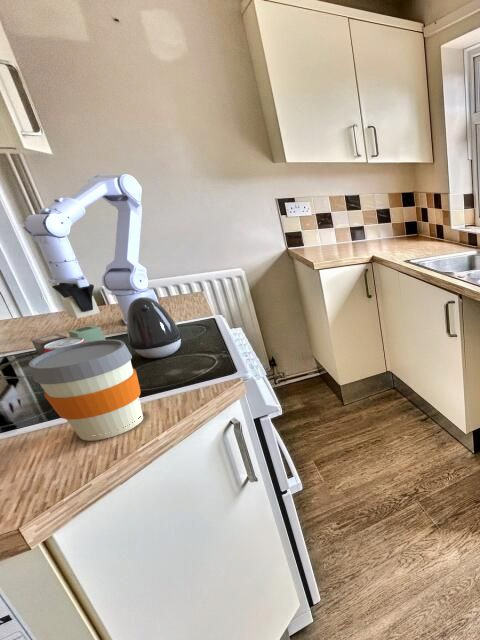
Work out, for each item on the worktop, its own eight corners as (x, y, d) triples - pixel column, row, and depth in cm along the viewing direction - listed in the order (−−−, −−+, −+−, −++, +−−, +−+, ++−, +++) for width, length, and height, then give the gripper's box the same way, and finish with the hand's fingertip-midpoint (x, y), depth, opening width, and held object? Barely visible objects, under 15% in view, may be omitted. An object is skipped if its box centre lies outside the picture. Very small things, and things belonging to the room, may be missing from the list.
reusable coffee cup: (171, 411, 83) (144, 341, 77) (101, 451, 71) (63, 372, 65) (122, 405, 85) (92, 336, 79) (46, 442, 74) (5, 365, 68)
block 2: (91, 310, 121) (84, 293, 119) (100, 312, 118) (93, 295, 117) (68, 316, 116) (61, 298, 114) (77, 318, 114) (69, 300, 112)
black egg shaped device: (137, 366, 102) (113, 307, 96) (135, 353, 109) (113, 297, 103) (188, 354, 108) (168, 297, 102) (183, 343, 115) (165, 289, 109)
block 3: (98, 341, 117) (91, 324, 115) (107, 344, 115) (100, 327, 113) (75, 348, 113) (67, 330, 111) (84, 351, 111) (76, 333, 109)
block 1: (65, 350, 111) (57, 333, 110) (74, 354, 109) (66, 336, 108) (40, 358, 107) (31, 340, 105) (49, 361, 105) (39, 343, 103)
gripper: (29, 261, 111) (52, 310, 117) (54, 266, 105) (76, 317, 111) (64, 256, 117) (84, 303, 123) (89, 260, 111) (109, 309, 117)
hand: (83, 309), depth 117 cm, fingers closed on block 2, 5 cm apart
